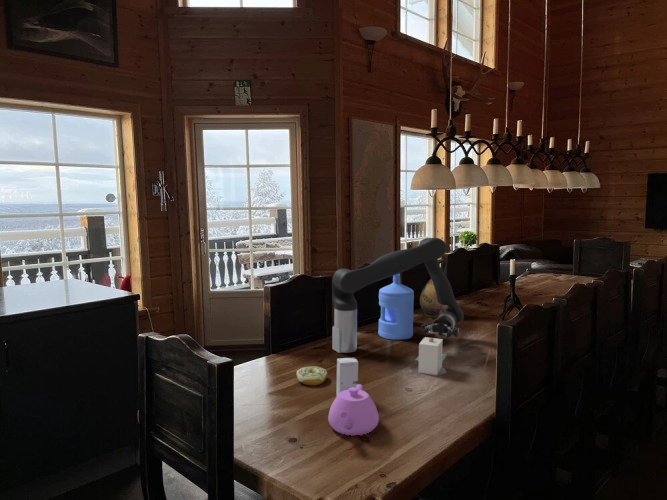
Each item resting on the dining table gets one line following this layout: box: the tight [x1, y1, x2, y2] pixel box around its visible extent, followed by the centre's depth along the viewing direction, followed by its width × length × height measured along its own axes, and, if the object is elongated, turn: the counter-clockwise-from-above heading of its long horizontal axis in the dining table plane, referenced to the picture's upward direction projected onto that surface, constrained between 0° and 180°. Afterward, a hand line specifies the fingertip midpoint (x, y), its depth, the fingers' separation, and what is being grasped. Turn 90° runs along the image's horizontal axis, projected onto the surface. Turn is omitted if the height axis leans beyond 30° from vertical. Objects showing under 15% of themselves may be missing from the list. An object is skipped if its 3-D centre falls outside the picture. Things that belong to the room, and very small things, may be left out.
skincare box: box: [335, 357, 359, 397], centre depth 152 cm, size 6×4×12 cm
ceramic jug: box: [419, 258, 450, 318], centre depth 257 cm, size 17×15×30 cm
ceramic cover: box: [417, 336, 444, 376], centre depth 176 cm, size 9×7×12 cm
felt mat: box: [414, 353, 447, 363], centre depth 190 cm, size 12×10×1 cm
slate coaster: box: [414, 365, 447, 377], centre depth 176 cm, size 11×11×1 cm
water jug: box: [377, 273, 415, 341], centre depth 219 cm, size 16×16×28 cm
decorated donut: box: [296, 365, 328, 387], centre depth 167 cm, size 10×11×4 cm
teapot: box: [327, 383, 380, 437], centre depth 133 cm, size 14×20×11 cm
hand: (436, 334), depth 185 cm, fingers open, 8 cm apart
